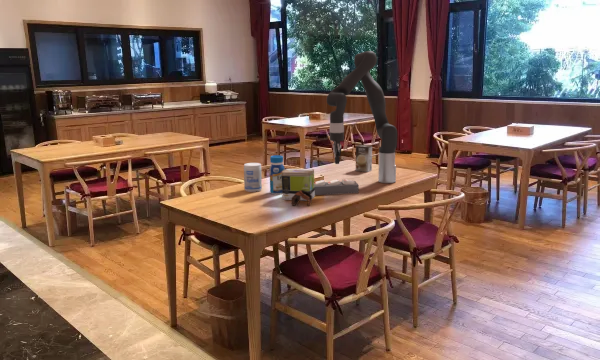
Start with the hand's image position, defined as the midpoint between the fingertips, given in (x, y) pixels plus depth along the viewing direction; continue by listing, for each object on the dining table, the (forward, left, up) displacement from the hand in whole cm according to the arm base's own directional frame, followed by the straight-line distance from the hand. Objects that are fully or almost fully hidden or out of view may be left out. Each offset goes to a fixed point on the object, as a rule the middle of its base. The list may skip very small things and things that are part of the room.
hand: (337, 163), depth 266 cm
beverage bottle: (+32, -4, -16) cm, 36 cm away
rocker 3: (-6, 0, -11) cm, 12 cm away
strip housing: (+2, 0, -15) cm, 16 cm away
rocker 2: (+2, 0, -11) cm, 11 cm away
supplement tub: (+45, -12, -16) cm, 49 cm away
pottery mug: (+22, +22, -16) cm, 35 cm away
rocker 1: (+10, 0, -11) cm, 15 cm away
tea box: (+22, +9, -16) cm, 28 cm away
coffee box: (-26, -50, -16) cm, 58 cm away
